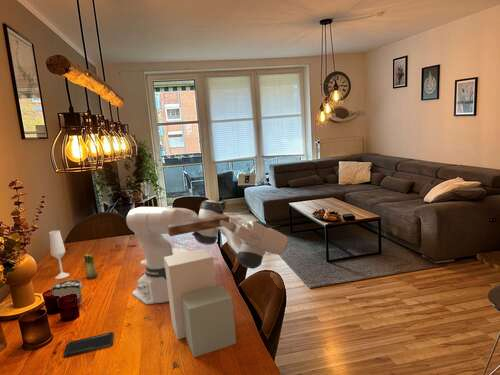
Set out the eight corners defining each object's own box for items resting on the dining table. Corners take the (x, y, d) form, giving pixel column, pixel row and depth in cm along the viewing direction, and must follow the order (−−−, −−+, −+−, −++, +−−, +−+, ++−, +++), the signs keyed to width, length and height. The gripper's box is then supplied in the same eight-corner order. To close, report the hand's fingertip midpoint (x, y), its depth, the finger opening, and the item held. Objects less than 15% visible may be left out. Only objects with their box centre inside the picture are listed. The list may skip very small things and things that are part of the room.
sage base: (226, 328, 121) (221, 285, 119) (236, 343, 112) (232, 297, 110) (186, 340, 116) (181, 295, 114) (193, 357, 107) (188, 309, 104)
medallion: (194, 261, 189) (194, 256, 189) (143, 271, 180) (142, 267, 179) (185, 248, 211) (185, 244, 210) (139, 257, 201) (138, 253, 201)
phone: (67, 342, 119) (113, 331, 124) (67, 345, 119) (114, 334, 124) (62, 355, 112) (112, 343, 116) (63, 359, 112) (112, 346, 116)
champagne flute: (64, 272, 186) (57, 229, 182) (72, 274, 182) (64, 230, 178) (52, 277, 180) (44, 232, 176) (59, 279, 177) (51, 234, 173)
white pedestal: (211, 313, 132) (205, 248, 128) (220, 326, 123) (213, 256, 118) (172, 325, 126) (163, 257, 122) (177, 339, 117) (168, 266, 113)
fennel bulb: (85, 277, 177) (82, 254, 175) (96, 274, 180) (92, 252, 178) (88, 280, 173) (84, 257, 171) (98, 277, 176) (95, 254, 174)
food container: (90, 299, 152) (86, 277, 150) (83, 306, 146) (80, 284, 144) (61, 301, 152) (57, 280, 150) (54, 309, 146) (50, 286, 144)
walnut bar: (226, 222, 126) (225, 214, 126) (229, 225, 123) (229, 216, 122) (168, 233, 118) (167, 225, 118) (170, 236, 115) (169, 227, 114)
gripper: (258, 248, 119) (223, 236, 113) (237, 234, 137) (206, 222, 132) (265, 231, 119) (231, 218, 113) (243, 219, 138) (212, 207, 132)
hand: (217, 220), depth 123 cm, fingers closed on walnut bar, 3 cm apart
